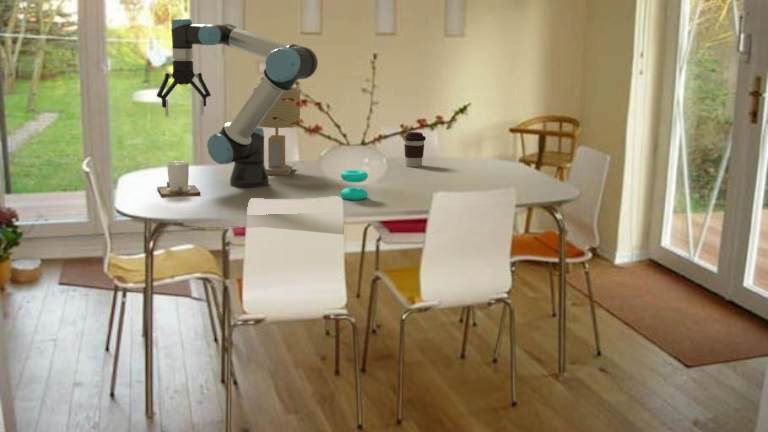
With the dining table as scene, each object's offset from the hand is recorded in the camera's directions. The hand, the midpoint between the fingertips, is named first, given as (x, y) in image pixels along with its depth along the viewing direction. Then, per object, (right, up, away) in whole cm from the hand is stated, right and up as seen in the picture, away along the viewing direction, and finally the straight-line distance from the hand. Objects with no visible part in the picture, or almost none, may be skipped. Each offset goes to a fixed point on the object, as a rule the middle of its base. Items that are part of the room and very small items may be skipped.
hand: (184, 115), depth 349 cm
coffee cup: (+90, -16, +58) cm, 109 cm away
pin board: (0, -30, -10) cm, 32 cm away
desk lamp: (+31, -20, +36) cm, 52 cm away
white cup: (0, -29, -11) cm, 31 cm away
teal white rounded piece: (+66, -32, -12) cm, 74 cm away
